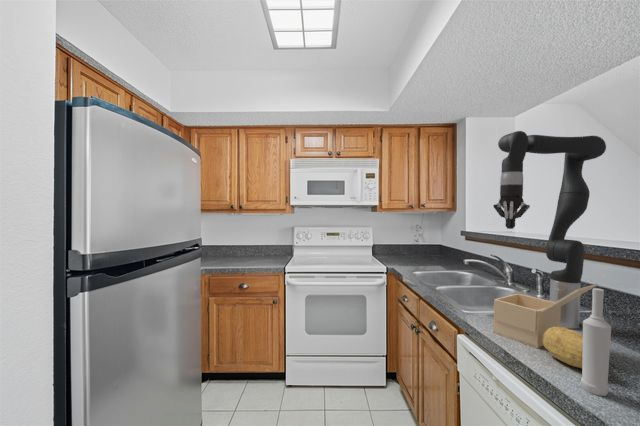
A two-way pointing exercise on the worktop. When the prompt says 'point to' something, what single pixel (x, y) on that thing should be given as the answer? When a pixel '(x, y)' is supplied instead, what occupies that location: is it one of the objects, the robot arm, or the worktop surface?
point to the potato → (564, 345)
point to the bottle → (596, 348)
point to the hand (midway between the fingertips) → (510, 228)
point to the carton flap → (569, 297)
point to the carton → (524, 318)
